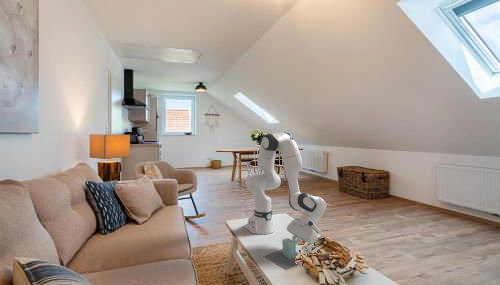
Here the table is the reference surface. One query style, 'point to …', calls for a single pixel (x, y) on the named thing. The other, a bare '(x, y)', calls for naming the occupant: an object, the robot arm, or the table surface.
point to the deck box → (289, 248)
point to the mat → (281, 259)
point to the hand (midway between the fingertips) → (292, 243)
